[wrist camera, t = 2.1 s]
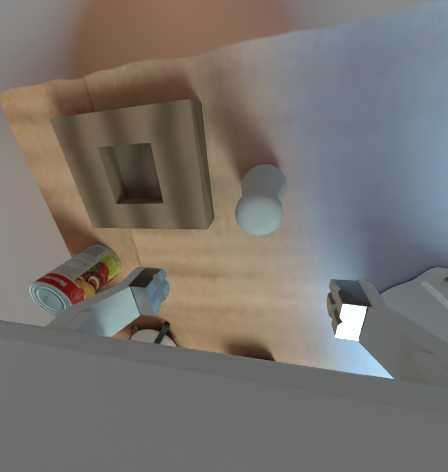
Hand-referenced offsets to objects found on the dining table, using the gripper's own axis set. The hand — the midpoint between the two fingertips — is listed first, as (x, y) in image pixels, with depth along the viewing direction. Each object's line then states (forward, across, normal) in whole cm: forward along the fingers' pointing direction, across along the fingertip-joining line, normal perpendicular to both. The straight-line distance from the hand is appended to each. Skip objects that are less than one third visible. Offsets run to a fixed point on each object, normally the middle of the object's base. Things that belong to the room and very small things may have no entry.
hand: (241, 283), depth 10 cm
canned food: (+22, +33, +15) cm, 42 cm away
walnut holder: (+22, +18, -2) cm, 28 cm away
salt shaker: (+22, 0, 0) cm, 22 cm away
